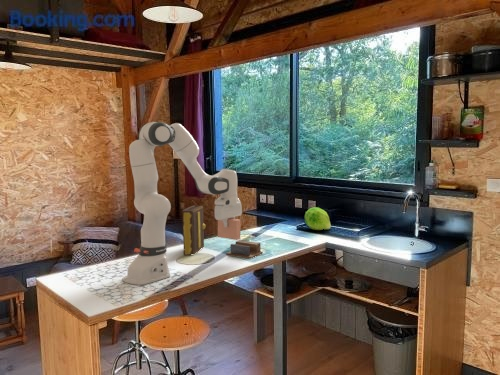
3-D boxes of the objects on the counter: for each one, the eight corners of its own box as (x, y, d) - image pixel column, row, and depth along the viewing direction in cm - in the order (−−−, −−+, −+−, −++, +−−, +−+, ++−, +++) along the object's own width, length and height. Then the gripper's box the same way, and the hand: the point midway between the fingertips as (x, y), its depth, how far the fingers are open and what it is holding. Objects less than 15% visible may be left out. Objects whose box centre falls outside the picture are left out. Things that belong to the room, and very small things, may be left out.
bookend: (249, 255, 222) (248, 246, 221) (230, 253, 228) (230, 244, 228) (250, 255, 223) (249, 246, 222) (231, 252, 229) (231, 243, 228)
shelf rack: (250, 258, 220) (250, 247, 219) (226, 254, 228) (226, 244, 228) (262, 253, 230) (262, 242, 230) (238, 249, 239) (238, 239, 238)
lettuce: (329, 235, 280) (339, 215, 284) (304, 220, 280) (314, 200, 284) (321, 238, 297) (330, 219, 301) (297, 223, 296) (307, 205, 301)
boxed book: (236, 239, 211) (236, 220, 210) (217, 237, 217) (217, 218, 217) (240, 238, 214) (240, 219, 213) (221, 235, 220) (221, 217, 219)
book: (195, 255, 227) (194, 211, 225) (180, 255, 229) (179, 210, 227) (207, 245, 249) (206, 205, 246) (193, 245, 251) (192, 204, 248)
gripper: (235, 197, 224) (235, 222, 226) (212, 201, 207) (212, 228, 208) (244, 198, 221) (244, 223, 222) (222, 202, 204) (222, 230, 205)
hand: (228, 226), depth 215 cm, fingers closed on boxed book, 3 cm apart
